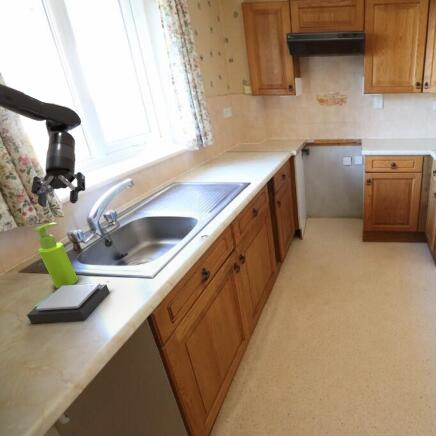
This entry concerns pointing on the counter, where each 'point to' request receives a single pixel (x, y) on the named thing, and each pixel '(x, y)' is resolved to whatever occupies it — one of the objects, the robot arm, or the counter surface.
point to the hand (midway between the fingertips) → (57, 204)
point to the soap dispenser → (55, 258)
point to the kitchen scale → (69, 303)
